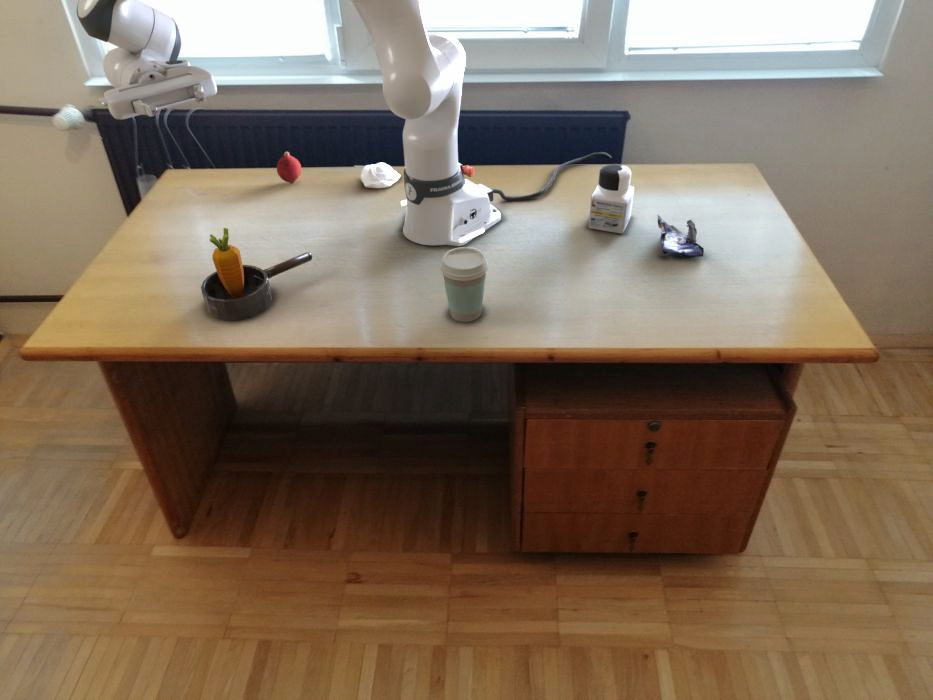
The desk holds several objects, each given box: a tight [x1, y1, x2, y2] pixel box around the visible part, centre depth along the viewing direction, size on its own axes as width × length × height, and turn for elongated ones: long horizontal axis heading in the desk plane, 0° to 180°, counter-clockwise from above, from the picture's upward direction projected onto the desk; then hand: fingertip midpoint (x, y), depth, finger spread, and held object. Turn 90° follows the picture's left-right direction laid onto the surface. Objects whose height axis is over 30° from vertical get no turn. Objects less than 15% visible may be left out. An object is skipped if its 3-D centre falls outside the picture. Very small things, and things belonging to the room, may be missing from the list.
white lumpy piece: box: [360, 161, 401, 189], centre depth 176 cm, size 10×4×10 cm
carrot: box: [209, 227, 244, 299], centre depth 133 cm, size 5×5×15 cm
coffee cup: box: [439, 246, 489, 323], centre depth 130 cm, size 9×8×12 cm
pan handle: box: [259, 251, 313, 280], centre depth 142 cm, size 11×2×2 cm, turn 130°
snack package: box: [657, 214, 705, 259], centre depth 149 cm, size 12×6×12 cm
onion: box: [276, 151, 302, 184], centre depth 175 cm, size 6×6×8 cm
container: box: [588, 163, 635, 235], centre depth 154 cm, size 8×8×13 cm
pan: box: [200, 264, 273, 322], centre depth 137 cm, size 12×12×4 cm
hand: (178, 104), depth 132 cm, fingers open, 8 cm apart
